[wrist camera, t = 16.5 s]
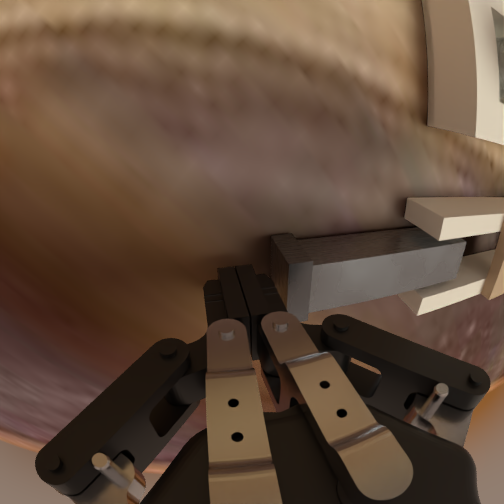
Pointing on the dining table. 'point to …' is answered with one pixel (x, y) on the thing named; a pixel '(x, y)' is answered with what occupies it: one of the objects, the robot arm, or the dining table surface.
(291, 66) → the dining table surface
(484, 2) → the socket block
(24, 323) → the dining table surface
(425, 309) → the pin guide
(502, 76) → the salt shaker
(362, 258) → the pin
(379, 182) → the dining table surface
